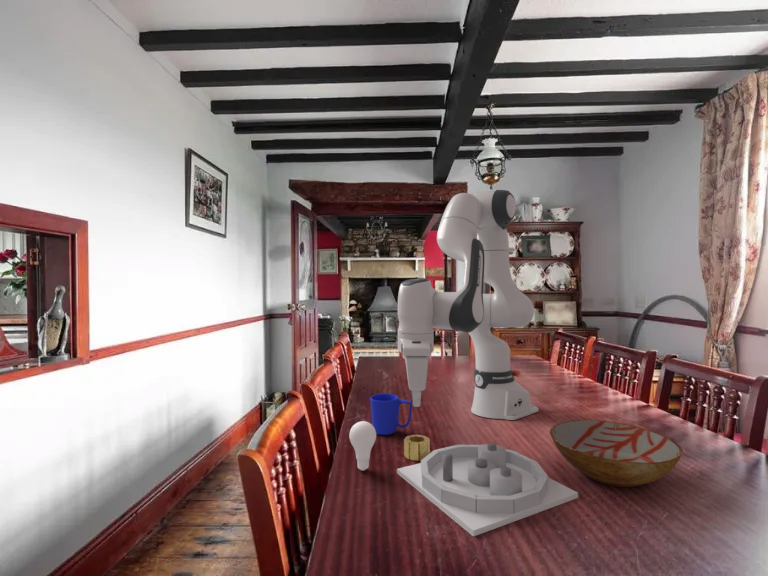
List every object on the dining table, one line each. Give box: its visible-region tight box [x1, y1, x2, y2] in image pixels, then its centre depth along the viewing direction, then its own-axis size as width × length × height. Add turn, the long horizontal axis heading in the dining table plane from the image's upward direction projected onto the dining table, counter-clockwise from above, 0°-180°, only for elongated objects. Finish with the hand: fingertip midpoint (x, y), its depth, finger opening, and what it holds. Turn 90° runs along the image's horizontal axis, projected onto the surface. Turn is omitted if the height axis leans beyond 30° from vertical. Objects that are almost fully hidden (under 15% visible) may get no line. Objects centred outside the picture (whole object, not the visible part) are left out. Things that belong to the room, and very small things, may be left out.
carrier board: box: [396, 442, 579, 537], centre depth 85 cm, size 26×26×6 cm
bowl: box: [549, 419, 683, 488], centre depth 89 cm, size 25×25×8 cm
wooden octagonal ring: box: [403, 434, 431, 462], centre depth 100 cm, size 6×6×4 cm
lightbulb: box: [348, 420, 377, 472], centre depth 92 cm, size 6×6×11 cm
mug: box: [369, 393, 413, 436], centre depth 116 cm, size 8×12×10 cm
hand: (415, 400), depth 99 cm, fingers open, 8 cm apart
